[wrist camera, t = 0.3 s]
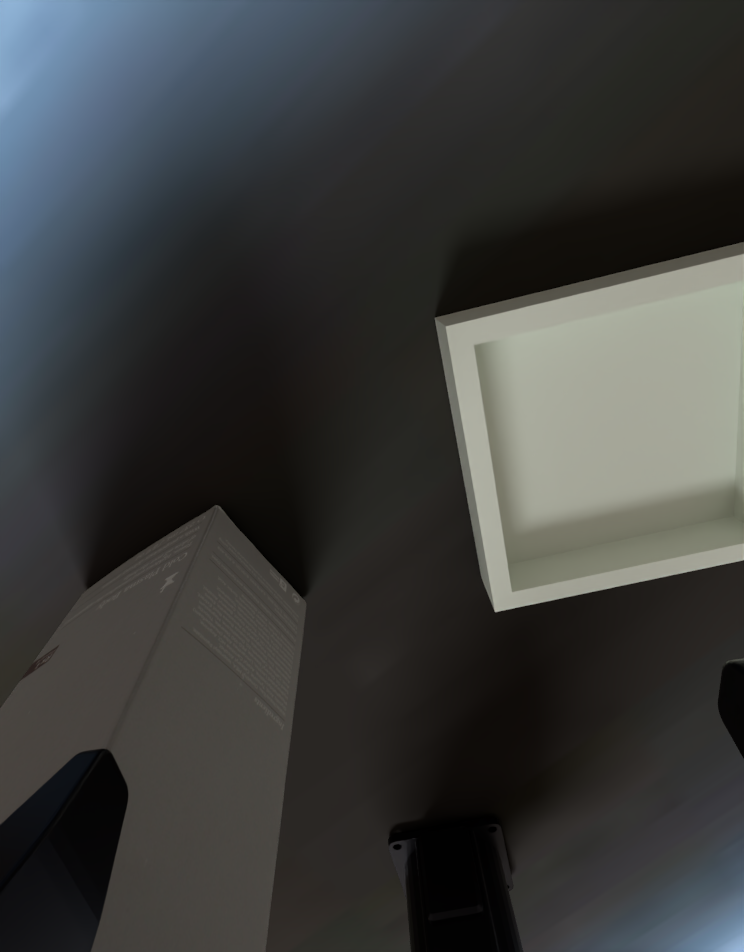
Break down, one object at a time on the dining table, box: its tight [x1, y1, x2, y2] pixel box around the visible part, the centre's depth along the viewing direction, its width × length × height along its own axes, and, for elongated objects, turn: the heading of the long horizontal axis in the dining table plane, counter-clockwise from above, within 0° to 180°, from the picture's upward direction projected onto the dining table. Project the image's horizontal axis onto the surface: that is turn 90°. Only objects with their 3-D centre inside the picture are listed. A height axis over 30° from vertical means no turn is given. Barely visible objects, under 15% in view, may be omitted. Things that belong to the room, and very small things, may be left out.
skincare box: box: [0, 505, 306, 952], centre depth 17 cm, size 8×7×16 cm
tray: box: [435, 242, 744, 612], centre depth 20 cm, size 12×12×2 cm
